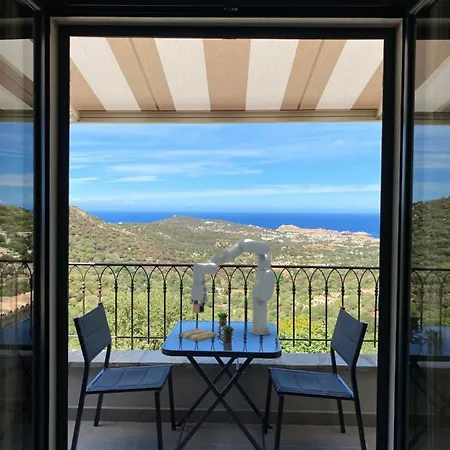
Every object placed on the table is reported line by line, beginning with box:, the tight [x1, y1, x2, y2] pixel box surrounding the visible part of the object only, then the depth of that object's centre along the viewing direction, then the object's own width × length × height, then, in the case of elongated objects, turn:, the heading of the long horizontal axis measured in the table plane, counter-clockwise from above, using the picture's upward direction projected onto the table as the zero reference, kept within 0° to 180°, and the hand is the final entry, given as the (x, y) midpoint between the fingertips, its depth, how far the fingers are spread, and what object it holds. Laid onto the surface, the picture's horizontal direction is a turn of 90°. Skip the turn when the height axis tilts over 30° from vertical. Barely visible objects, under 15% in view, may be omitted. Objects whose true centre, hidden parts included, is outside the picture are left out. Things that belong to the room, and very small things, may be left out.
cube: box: [192, 302, 204, 314], centre depth 247 cm, size 5×5×5 cm
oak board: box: [179, 328, 217, 343], centre depth 247 cm, size 16×16×2 cm
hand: (198, 311), depth 247 cm, fingers closed on cube, 5 cm apart
